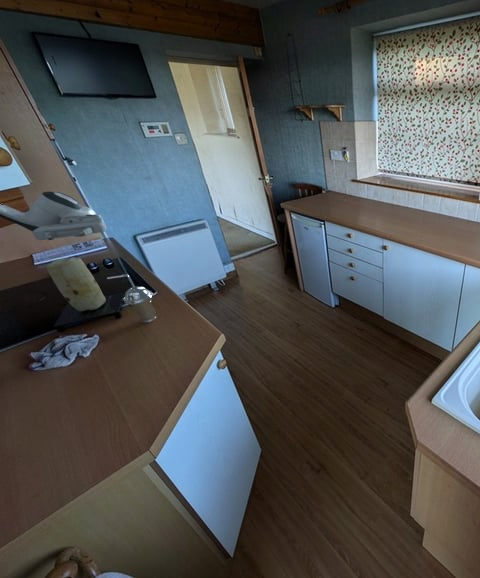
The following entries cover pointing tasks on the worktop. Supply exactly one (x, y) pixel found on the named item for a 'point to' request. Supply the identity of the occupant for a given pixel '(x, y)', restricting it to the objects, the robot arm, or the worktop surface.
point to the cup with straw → (139, 301)
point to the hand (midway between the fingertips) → (66, 235)
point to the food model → (76, 283)
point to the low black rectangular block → (90, 312)
